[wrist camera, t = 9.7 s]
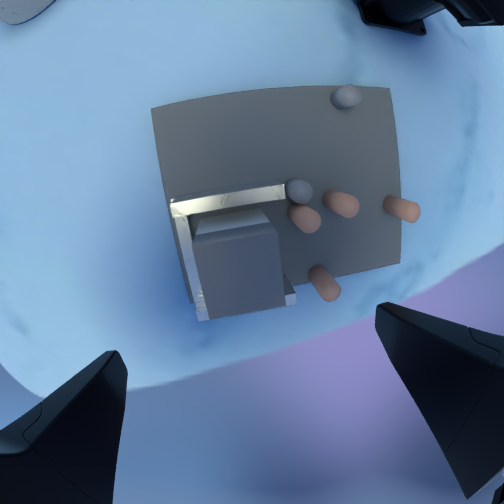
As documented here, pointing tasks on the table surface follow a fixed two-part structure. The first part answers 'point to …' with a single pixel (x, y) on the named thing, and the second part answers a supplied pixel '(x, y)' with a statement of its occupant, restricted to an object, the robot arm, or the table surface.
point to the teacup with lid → (21, 9)
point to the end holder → (214, 201)
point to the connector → (238, 264)
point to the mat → (291, 168)
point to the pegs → (336, 204)
